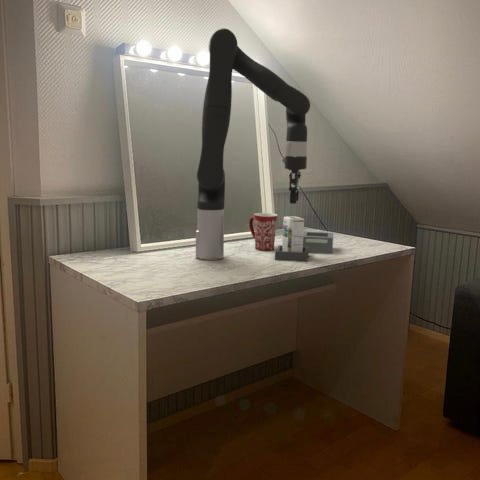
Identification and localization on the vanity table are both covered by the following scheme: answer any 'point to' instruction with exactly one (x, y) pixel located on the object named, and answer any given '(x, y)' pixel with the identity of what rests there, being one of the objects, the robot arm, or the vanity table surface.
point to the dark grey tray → (291, 254)
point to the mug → (264, 230)
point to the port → (318, 242)
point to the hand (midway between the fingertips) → (294, 202)
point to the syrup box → (293, 234)
